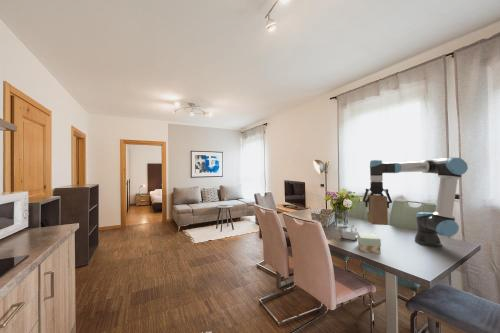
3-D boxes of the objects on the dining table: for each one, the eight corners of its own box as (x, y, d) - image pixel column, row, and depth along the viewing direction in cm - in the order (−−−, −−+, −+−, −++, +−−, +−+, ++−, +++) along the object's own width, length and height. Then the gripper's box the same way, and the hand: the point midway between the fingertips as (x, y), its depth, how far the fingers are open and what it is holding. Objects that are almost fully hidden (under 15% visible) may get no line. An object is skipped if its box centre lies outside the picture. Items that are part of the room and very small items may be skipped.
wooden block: (388, 225, 140) (387, 196, 140) (372, 224, 142) (371, 196, 142) (382, 221, 149) (381, 194, 150) (367, 221, 151) (366, 194, 152)
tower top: (376, 240, 150) (375, 233, 150) (380, 246, 139) (380, 239, 139) (358, 239, 154) (357, 232, 154) (361, 245, 143) (360, 237, 143)
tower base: (376, 247, 150) (376, 240, 150) (380, 254, 138) (380, 246, 139) (358, 245, 154) (358, 239, 154) (360, 252, 143) (360, 245, 143)
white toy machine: (347, 222, 183) (361, 224, 176) (348, 233, 183) (362, 236, 175) (340, 227, 170) (355, 229, 162) (341, 239, 170) (356, 242, 162)
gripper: (394, 181, 145) (394, 212, 145) (357, 181, 154) (358, 210, 153) (397, 181, 138) (398, 214, 138) (359, 181, 147) (359, 212, 146)
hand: (377, 212), depth 146 cm, fingers closed on wooden block, 11 cm apart
